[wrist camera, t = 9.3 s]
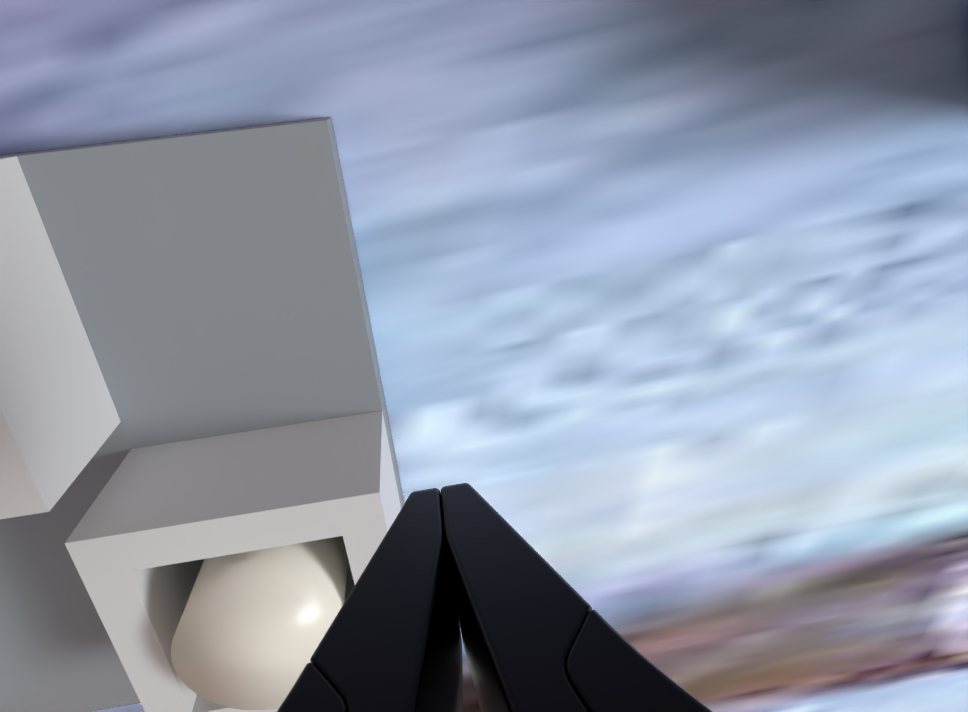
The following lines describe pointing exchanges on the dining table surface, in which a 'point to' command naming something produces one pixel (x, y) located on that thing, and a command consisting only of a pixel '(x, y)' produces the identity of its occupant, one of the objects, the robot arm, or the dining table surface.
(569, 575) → the dining table surface
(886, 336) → the dining table surface
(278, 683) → the plug
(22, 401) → the panel
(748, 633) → the dining table surface
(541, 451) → the dining table surface
